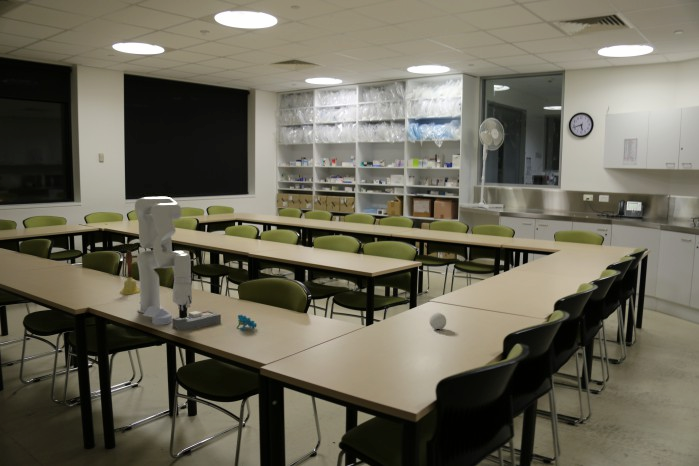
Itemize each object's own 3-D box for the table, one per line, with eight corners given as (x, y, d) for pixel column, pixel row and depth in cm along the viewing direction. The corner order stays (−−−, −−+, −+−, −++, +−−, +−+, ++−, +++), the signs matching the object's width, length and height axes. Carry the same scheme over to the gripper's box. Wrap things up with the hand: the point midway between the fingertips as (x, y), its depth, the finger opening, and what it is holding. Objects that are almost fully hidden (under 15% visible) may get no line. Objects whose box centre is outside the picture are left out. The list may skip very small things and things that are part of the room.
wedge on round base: (142, 321, 265) (161, 325, 259) (142, 308, 264) (160, 312, 258) (157, 317, 273) (175, 321, 267) (156, 304, 272) (175, 308, 266)
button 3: (200, 319, 267) (199, 313, 267) (207, 318, 270) (207, 312, 270) (205, 321, 264) (204, 315, 264) (212, 319, 267) (212, 313, 267)
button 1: (177, 325, 258) (176, 318, 257) (185, 323, 261) (185, 317, 261) (182, 327, 255) (181, 320, 255) (190, 325, 258) (190, 318, 258)
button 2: (188, 318, 262) (188, 312, 262) (196, 316, 265) (196, 311, 265) (193, 320, 259) (193, 314, 259) (201, 318, 262) (201, 312, 262)
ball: (425, 329, 258) (426, 313, 257) (435, 326, 264) (435, 309, 263) (440, 333, 253) (440, 316, 252) (449, 329, 259) (450, 313, 258)
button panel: (172, 326, 258) (172, 317, 257) (208, 318, 272) (208, 310, 272) (184, 331, 251) (184, 322, 250) (220, 322, 265) (220, 314, 265)
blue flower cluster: (261, 326, 255) (247, 314, 249) (255, 336, 252) (240, 324, 247) (247, 324, 262) (234, 312, 257) (241, 334, 259) (227, 323, 254)
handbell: (114, 293, 321) (113, 252, 318) (126, 289, 333) (125, 248, 330) (134, 295, 319) (132, 252, 316) (145, 290, 331) (144, 249, 328)
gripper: (166, 278, 258) (167, 316, 260) (183, 283, 248) (184, 322, 250) (181, 276, 263) (181, 313, 266) (198, 281, 253) (198, 319, 256)
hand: (183, 317), depth 258 cm, fingers closed
